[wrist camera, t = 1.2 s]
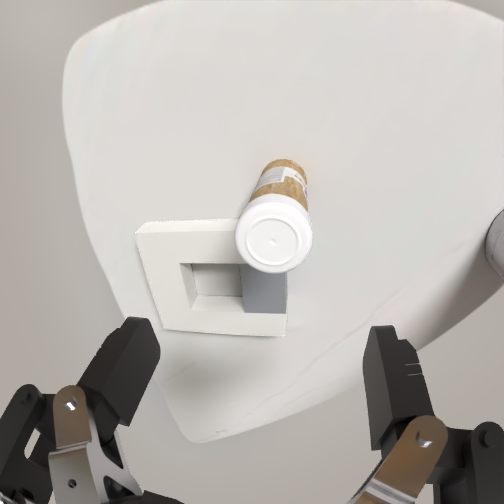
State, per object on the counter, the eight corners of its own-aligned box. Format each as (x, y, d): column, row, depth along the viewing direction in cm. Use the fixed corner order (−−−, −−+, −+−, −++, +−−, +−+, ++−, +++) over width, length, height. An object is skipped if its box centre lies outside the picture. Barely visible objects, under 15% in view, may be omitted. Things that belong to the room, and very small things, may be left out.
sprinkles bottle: (312, 193, 28) (323, 264, 17) (270, 207, 30) (252, 284, 18) (296, 150, 26) (296, 192, 15) (252, 167, 28) (219, 220, 16)
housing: (285, 217, 30) (283, 229, 27) (287, 320, 37) (286, 336, 34) (146, 222, 33) (134, 233, 30) (171, 314, 39) (164, 328, 37)
